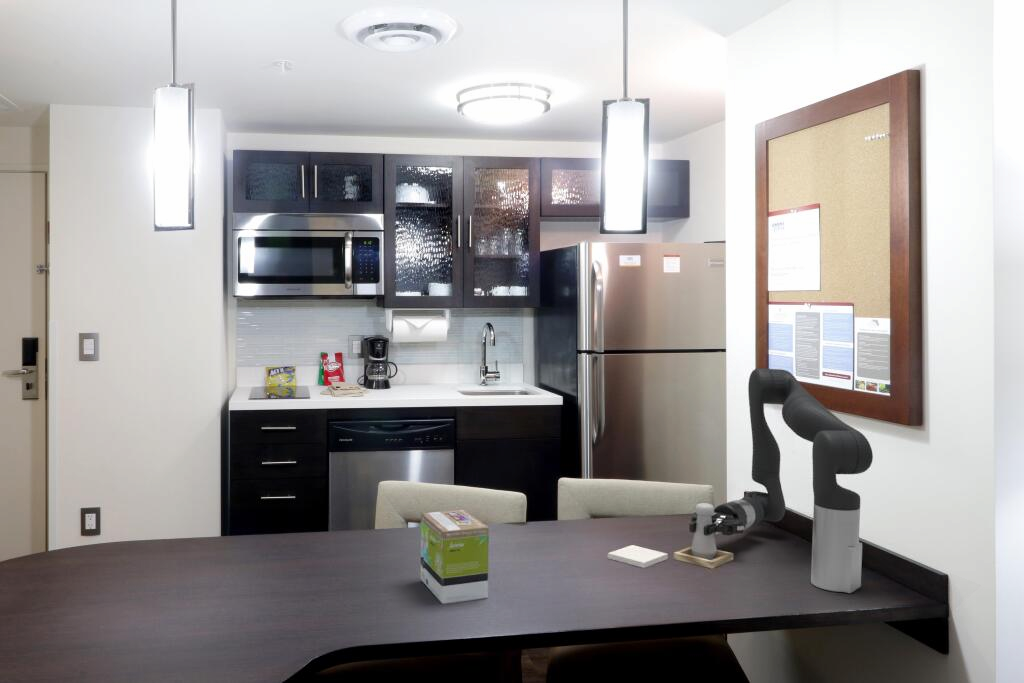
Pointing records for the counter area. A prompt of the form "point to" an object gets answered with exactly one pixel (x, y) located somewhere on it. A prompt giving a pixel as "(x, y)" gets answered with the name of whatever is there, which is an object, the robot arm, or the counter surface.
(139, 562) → the counter surface
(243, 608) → the counter surface
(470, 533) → the tea box
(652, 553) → the coaster
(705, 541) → the salt shaker
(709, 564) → the frame
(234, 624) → the counter surface
